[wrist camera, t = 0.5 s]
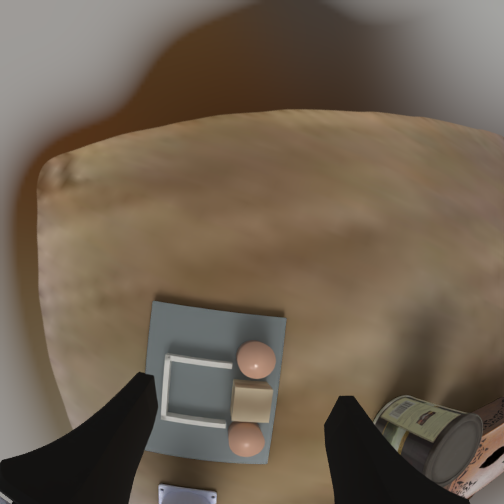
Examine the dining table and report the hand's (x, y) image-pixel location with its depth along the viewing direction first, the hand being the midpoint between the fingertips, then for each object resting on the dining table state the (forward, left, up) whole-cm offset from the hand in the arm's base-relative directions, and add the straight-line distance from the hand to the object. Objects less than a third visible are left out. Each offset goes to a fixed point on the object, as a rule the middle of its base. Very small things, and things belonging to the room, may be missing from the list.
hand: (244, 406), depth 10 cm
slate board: (-6, +1, -24) cm, 24 cm away
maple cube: (-6, -3, -23) cm, 24 cm away
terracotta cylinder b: (-1, -3, -23) cm, 23 cm away
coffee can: (-12, -27, -24) cm, 38 cm away
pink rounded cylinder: (-11, -3, -23) cm, 25 cm away
